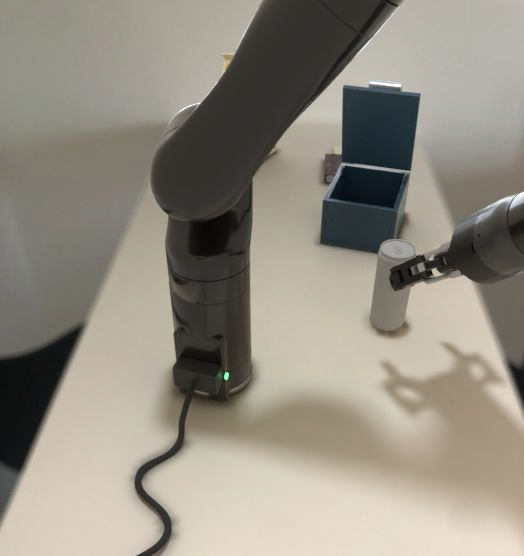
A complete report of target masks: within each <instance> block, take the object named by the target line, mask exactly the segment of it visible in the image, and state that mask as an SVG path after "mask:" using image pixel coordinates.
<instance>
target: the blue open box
mask: <svg viewBox="0 0 524 556" xmlns="http://www.w3.org/2000/svg"><path fill="white" fill-rule="evenodd" d="M410 179H411V171H404V170H397V169H389V168H382V167H375V166H368V165H360V164H353V165H352V164H345V163H342V164H341V166H340V168H339V170H338V171H337V173H336V175H335V177H334V179H333V181H332V183H330V185H329V187H328V188H327V191H326V193H325V195H324V197H323V199H322V206H321V218H320V219H321V222H320V236H319V244H322V245H328V246H329V245H330V246H333V247H340V248H345V249H352V250H359V251H365V252H369V253H375V254H378V253H379V249H380V246H381V244H382V243H383V242H384V241H387V240H391V239H398V238H397V237H398V235H399V231H400V228H401V226H402V223H403V220H404V219H403V218H404V216H405V213H406V204H407V198H408V193H409V185H410Z"/></svg>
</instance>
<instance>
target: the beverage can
mask: <svg viewBox="0 0 524 556" xmlns="http://www.w3.org/2000/svg"><path fill="white" fill-rule="evenodd" d="M416 256H417V247H416V245H414V244H413V243H412V242H410V241H408V240H405V239H399V238H396V239H391V240H387V241H384V242H383V243H382V244H381V246H380V249H379V253H377V261H376V269H375V275H374V277H375V278H374V284H373V291H372V299H371V305H370V313H369V320H370V322H371V324H372V325H373V326H374V327H375V328H376V329H378V330H380V331H384V332H393V331H396V330H399V329H400V328H401V327H402V326H403V325H404V324H405V321H406V315H407V309H408V303H409V298H410V293H411V288H412V287H410V286H409V287H407V288H404V289H402V290H398V291H394V289H392V287H391V284H390V281H389V277H390V274H391V272H390V269H391V268H392V267H394V266H398V265H400V264H402V263H404V262H406V261H408V260H411V259H413V258H415V257H416Z"/></svg>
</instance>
